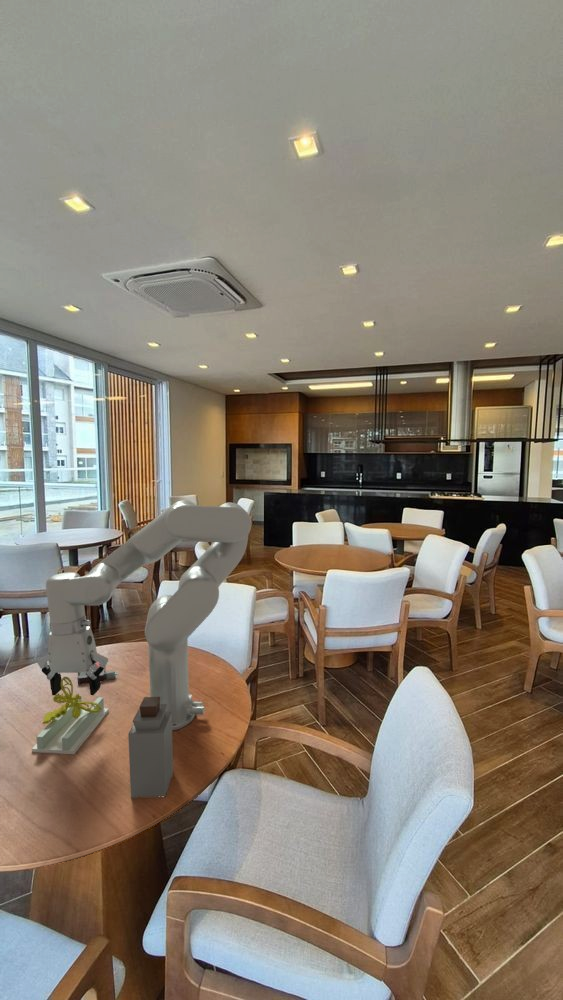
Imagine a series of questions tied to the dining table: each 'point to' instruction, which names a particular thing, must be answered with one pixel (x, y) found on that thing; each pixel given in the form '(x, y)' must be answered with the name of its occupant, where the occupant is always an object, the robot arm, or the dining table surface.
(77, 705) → the decorative insect
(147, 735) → the perfume bottle
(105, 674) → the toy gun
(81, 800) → the dining table surface
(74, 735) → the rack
